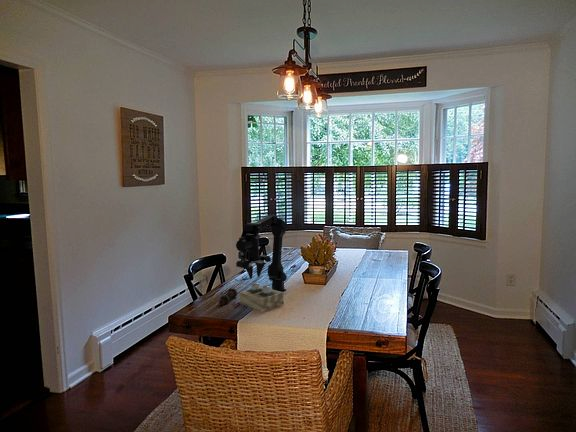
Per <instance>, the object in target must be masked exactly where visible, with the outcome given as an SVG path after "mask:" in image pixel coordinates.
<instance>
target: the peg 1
mask: <svg viewBox="0 0 576 432" xmlns="http://www.w3.org/2000/svg"><path fill="white" fill-rule="evenodd" d="M250 286H251V287H250V289H251V290H252V292H257V291H259V286H260V283H259V282H257V281H254V282H251V284H250Z"/></svg>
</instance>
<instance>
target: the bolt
mask: <svg viewBox="0 0 576 432" xmlns="http://www.w3.org/2000/svg"><path fill="white" fill-rule="evenodd" d="M238 294H239V292H238V291H237V289H235V288H234V287H232V288H231V287H230V288H228V290H227V293H226V294H223V295H221V297H220V299H219V300H218V304H219V305H220V306H224V305H225V304H226V305H227V304H229V303H230V300H231V299H236V298H237V295H238Z"/></svg>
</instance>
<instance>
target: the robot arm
mask: <svg viewBox="0 0 576 432" xmlns="http://www.w3.org/2000/svg"><path fill="white" fill-rule="evenodd" d="M268 226H269V227H270V232H271V233H272V236H273V242H272V255H271V256H272V258H271V256H270V255H266V254H263V255H260V252H261V251H262V250H261V249H260V247H259V238H261V235H260V233H261V232H262V230H263V229H264V228H267V227H268ZM287 226H288V225H287V223H286V221H285V220H284V219H282V218H281V217H278V216H277V215H275V214H268V215H267V216H265V217H263V218H261V219H259V220H257V221H253V222H247V223H245V224H244V227H243V229H242V233H241V234H240V235H241V236H240V237H239V238H238V240H237V241H236V243H235V248H236V249H237V251H238V253H237V257H238V260H237V261H236V263H235V266H236V267H237V268H241V269H245V270H246V273H247V274H248V277H249V279H250V280H251V279H253V273H254V266H253V265H252V264H255V266H256V276H257V277H260V276H261V274H262V271H263V269H264V267H265V265H266V264H267V263H269V262H271V263H270V264H269V265H268V266H267V276H268V280H269V281H271V289H272V290H276V291H280V292H285V291H287V289H286V288H285V282H286V280H287V279H288V278H287V277H288V275H287V274H286V273H285V271H284V265H283V264H282V250H283V239H284V238H283V237H284V235H285V234H286V232H287Z"/></svg>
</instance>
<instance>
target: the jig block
mask: <svg viewBox="0 0 576 432" xmlns="http://www.w3.org/2000/svg"><path fill="white" fill-rule="evenodd" d="M238 294H239V304H240V305H242V306H245V307H249V308H252V309H255V310H257V311H260V312H261V311H262V312H264V311H267V310H271V309H274V308H276V307H280V306H282V305H284V304H285V303H284V301H285V299H284V291H282V292H280V291H276V290H272V288H271V294H270V295H267V296H266V295H263V286H260V285H259V291H257V292H252V290H251V288H250V289H247V290H242V291H240V292H238ZM281 304H282V305H281ZM273 307H274V308H273Z"/></svg>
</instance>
